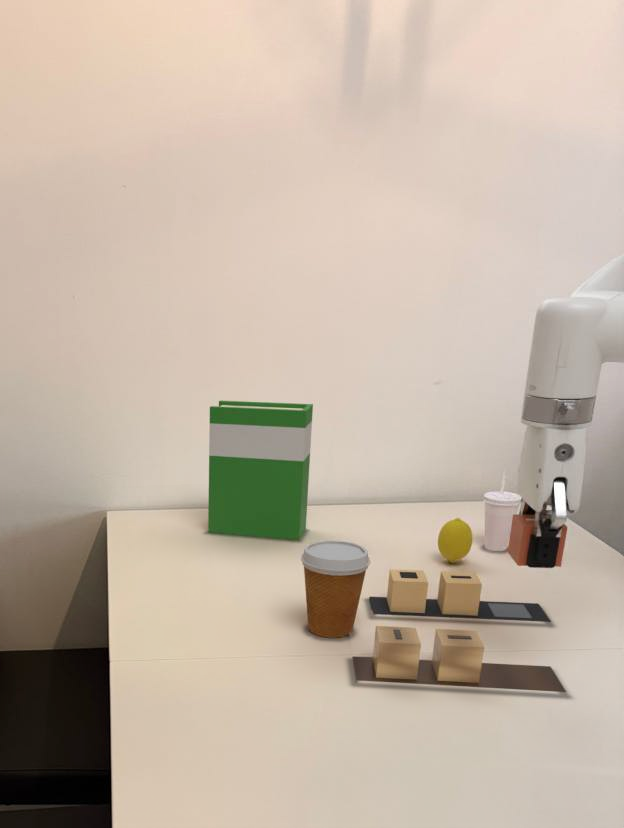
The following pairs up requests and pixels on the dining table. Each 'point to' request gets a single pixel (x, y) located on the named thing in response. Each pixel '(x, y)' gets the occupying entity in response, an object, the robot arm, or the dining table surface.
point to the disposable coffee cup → (333, 585)
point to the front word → (446, 663)
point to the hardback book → (259, 468)
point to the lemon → (455, 540)
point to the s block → (528, 538)
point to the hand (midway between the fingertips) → (534, 557)
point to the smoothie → (499, 516)
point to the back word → (448, 599)
